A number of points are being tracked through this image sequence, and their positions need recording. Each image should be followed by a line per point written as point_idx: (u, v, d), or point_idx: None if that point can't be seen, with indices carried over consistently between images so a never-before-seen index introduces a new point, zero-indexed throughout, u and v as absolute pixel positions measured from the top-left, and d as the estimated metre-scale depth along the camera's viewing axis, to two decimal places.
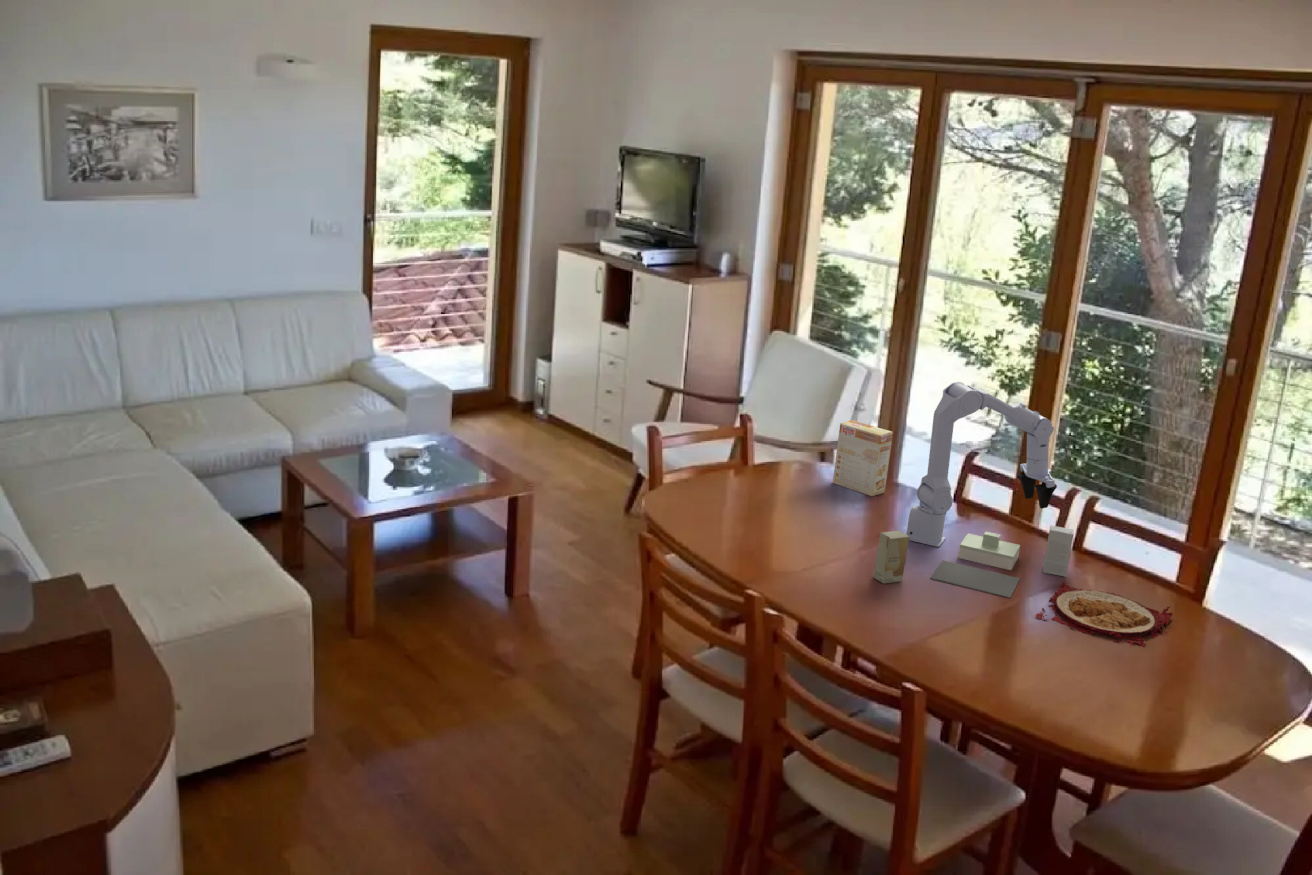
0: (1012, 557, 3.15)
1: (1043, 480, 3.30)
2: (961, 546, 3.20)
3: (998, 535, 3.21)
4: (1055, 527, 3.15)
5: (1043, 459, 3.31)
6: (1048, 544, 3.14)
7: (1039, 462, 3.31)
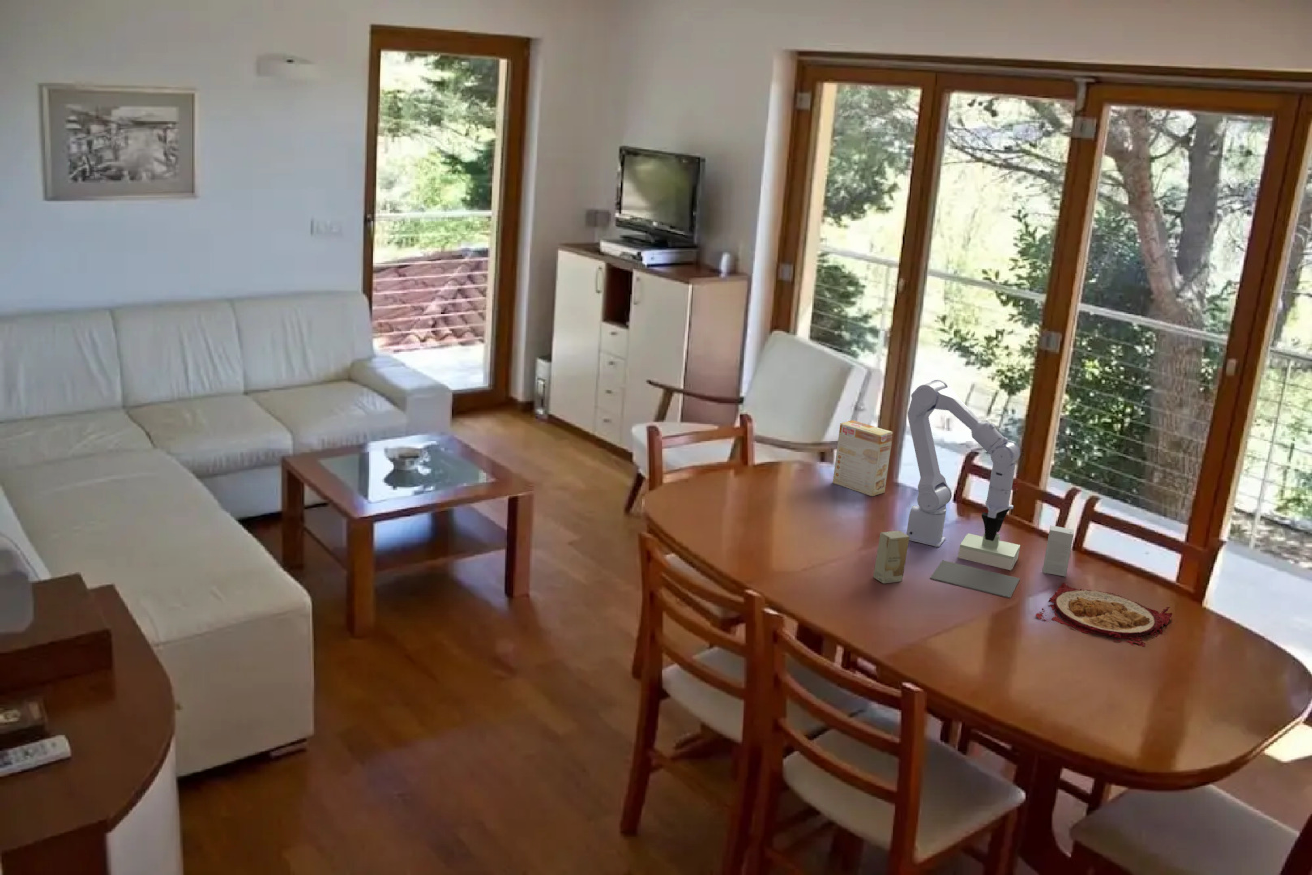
0: (1012, 557, 3.15)
1: (988, 508, 3.14)
2: (961, 546, 3.20)
3: (998, 535, 3.21)
4: (1055, 527, 3.15)
5: (997, 488, 3.15)
6: (1048, 544, 3.14)
7: (994, 491, 3.16)
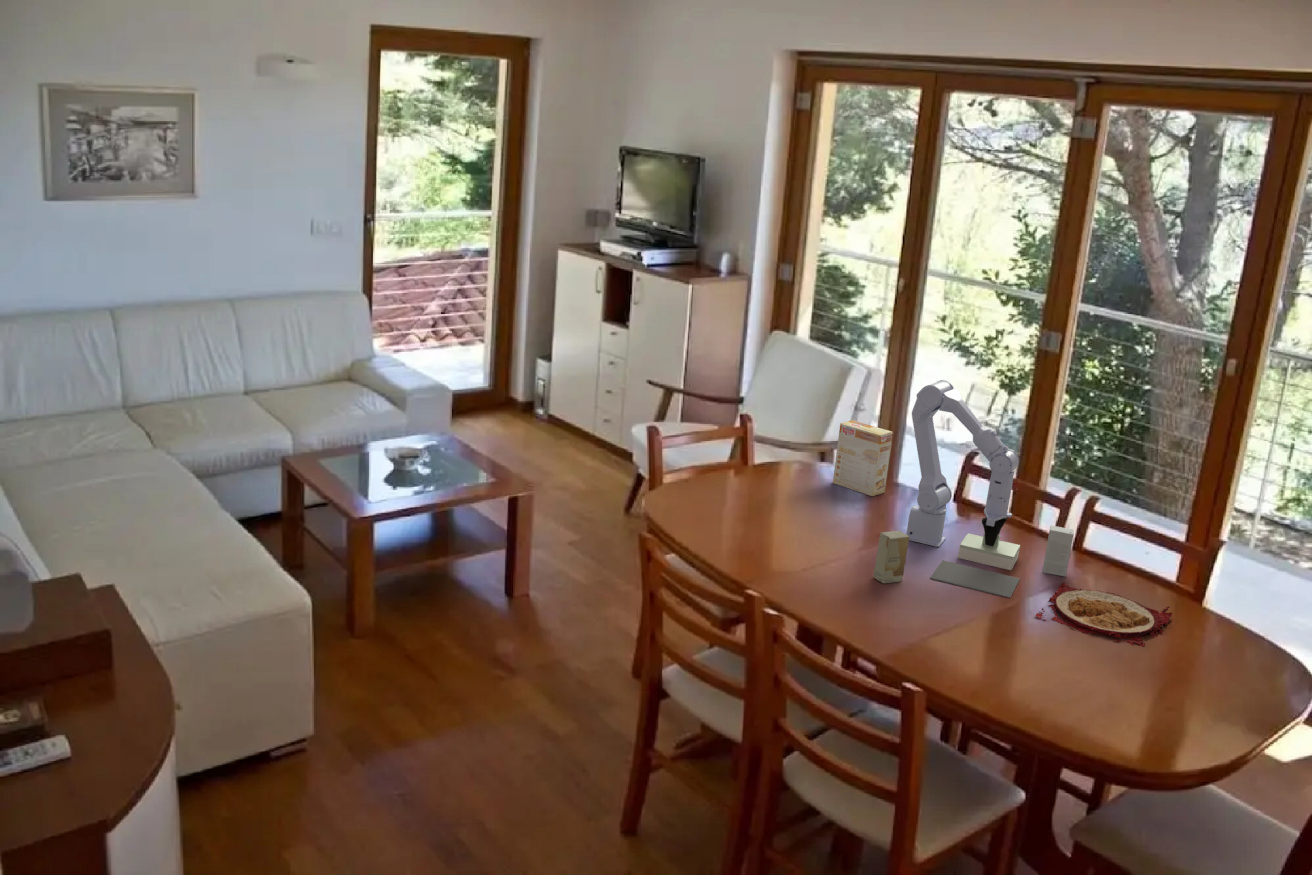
0: (1012, 557, 3.15)
1: (987, 517, 3.15)
2: (961, 546, 3.20)
3: (998, 535, 3.21)
4: (1055, 527, 3.15)
5: (995, 497, 3.16)
6: (1048, 544, 3.14)
7: (993, 499, 3.16)
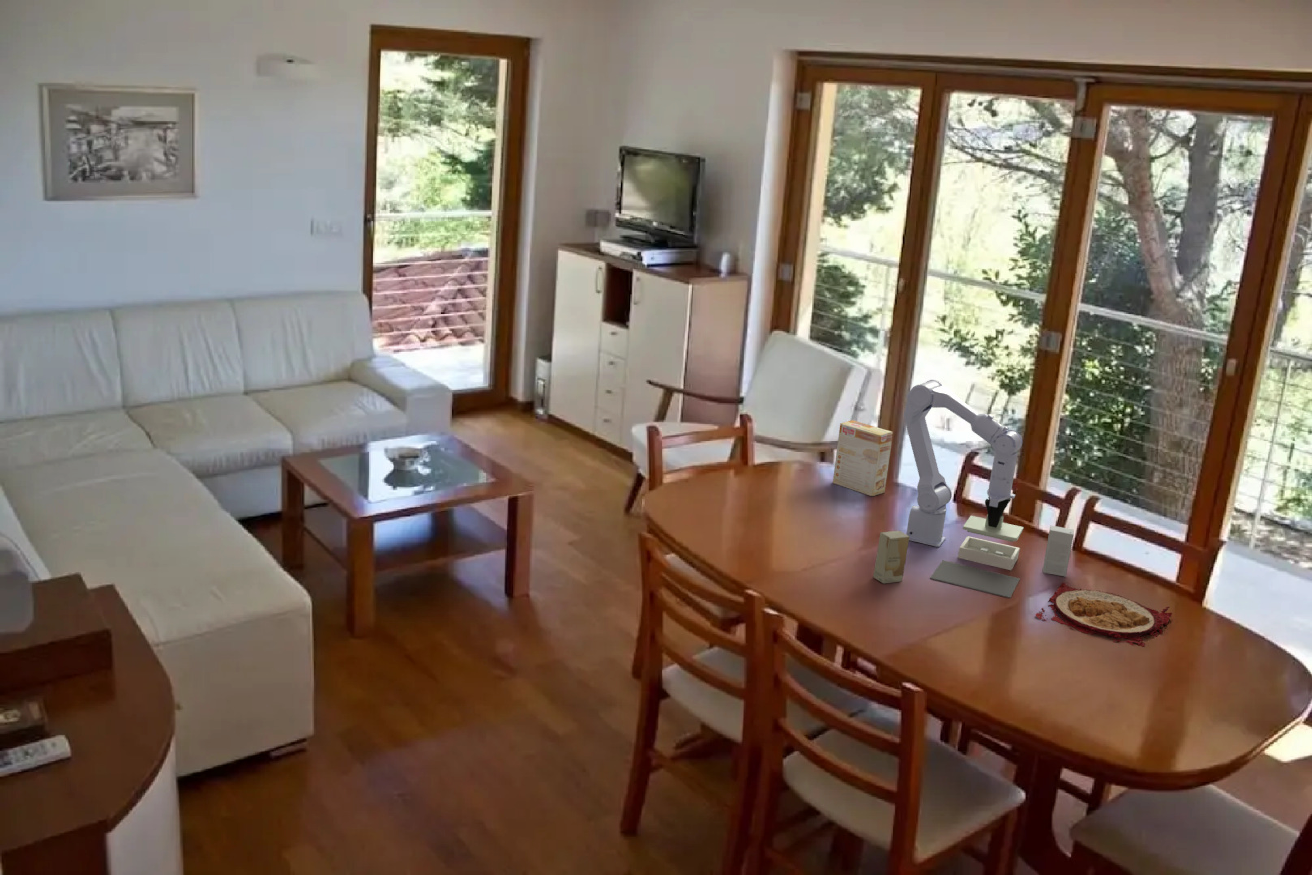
0: (1015, 539, 3.14)
1: (990, 498, 3.14)
2: (964, 528, 3.19)
3: (1001, 517, 3.19)
4: (1055, 527, 3.15)
5: (998, 477, 3.14)
6: (1048, 544, 3.14)
7: (996, 480, 3.15)
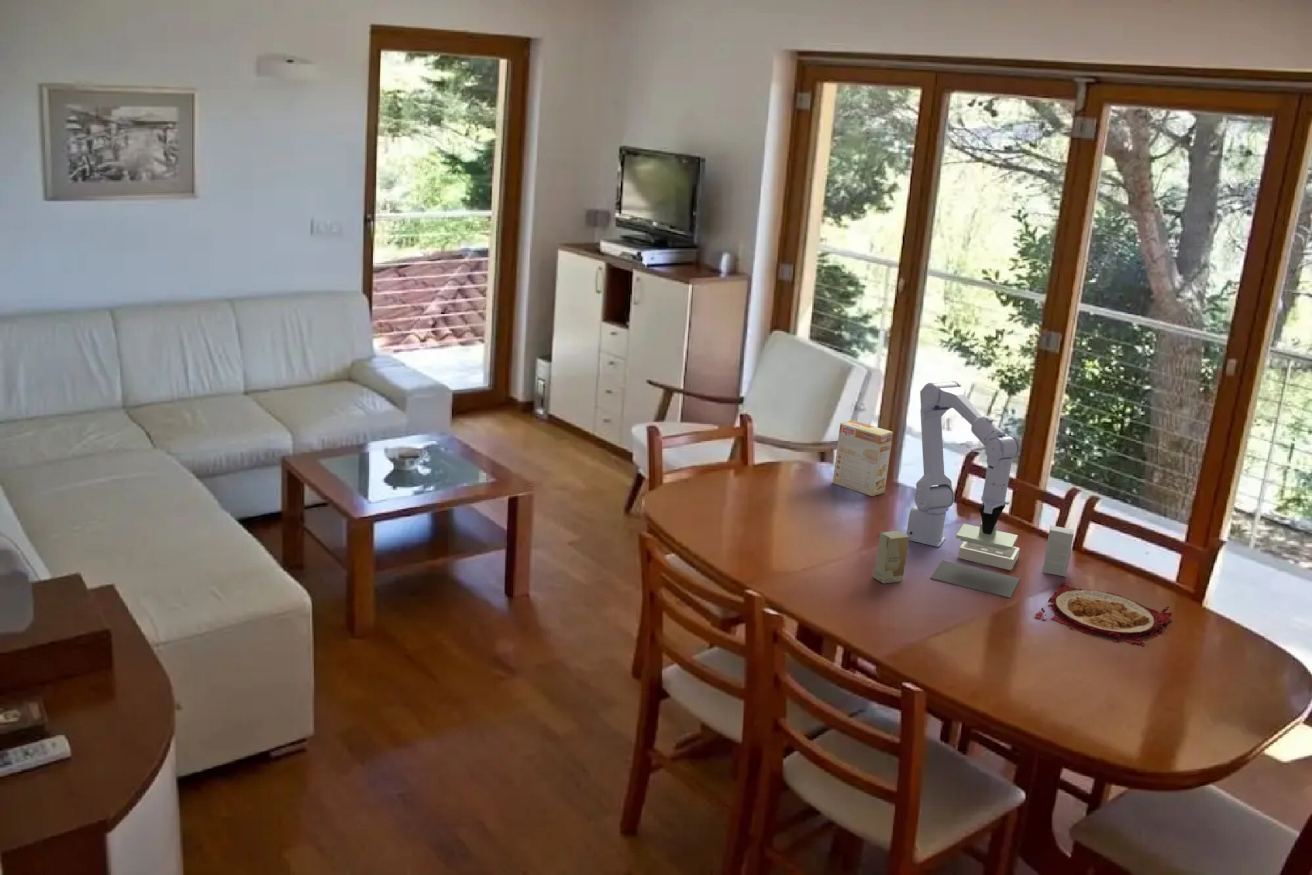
0: (1010, 547, 3.05)
1: (984, 504, 3.05)
2: (957, 536, 3.11)
3: (995, 525, 3.11)
4: (1055, 527, 3.15)
5: (988, 482, 3.07)
6: (1048, 544, 3.14)
7: (990, 485, 3.06)
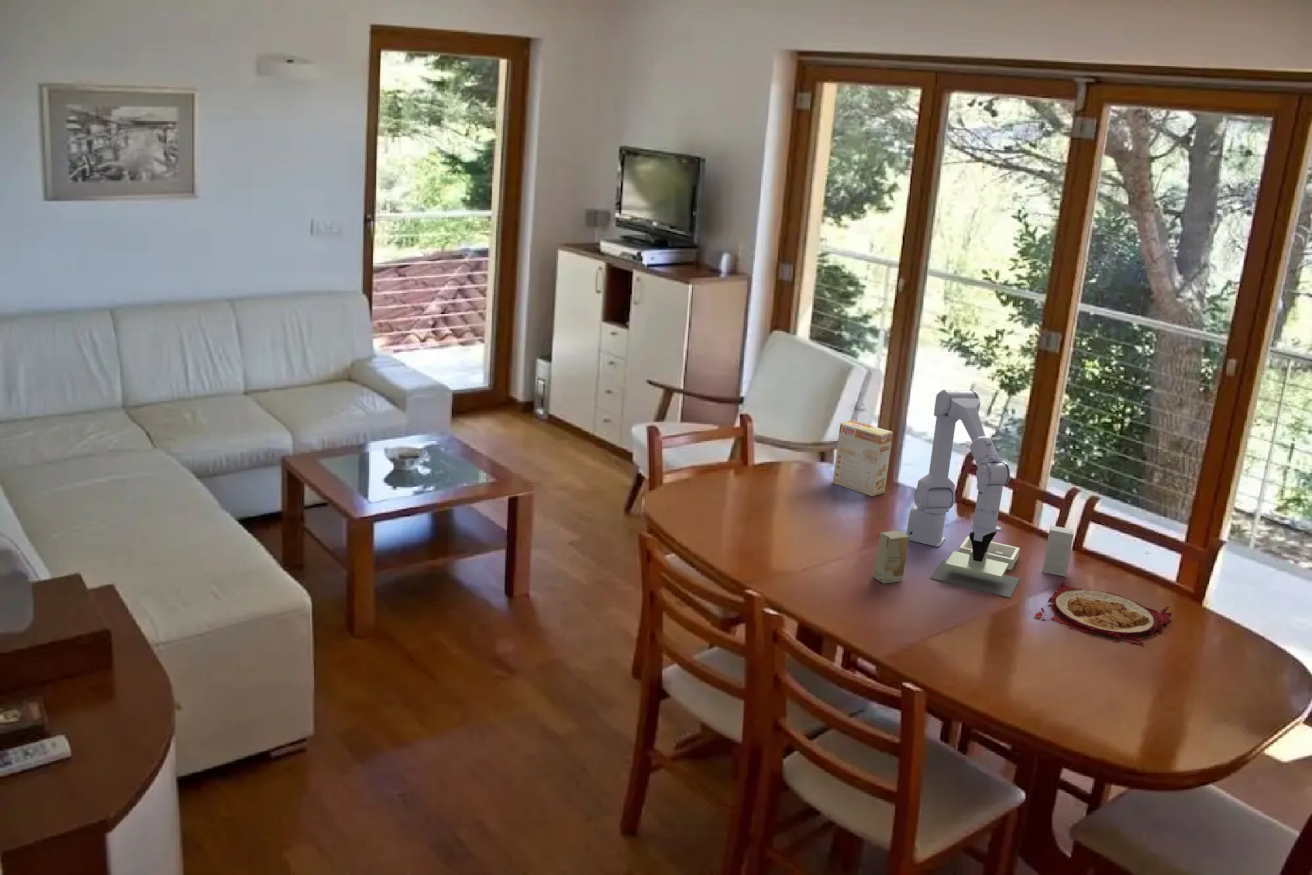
0: (1000, 577, 3.00)
1: (974, 531, 3.00)
2: (946, 565, 3.05)
3: (985, 553, 3.06)
4: (1055, 527, 3.15)
5: (977, 507, 3.02)
6: (1048, 544, 3.14)
7: (981, 512, 3.01)
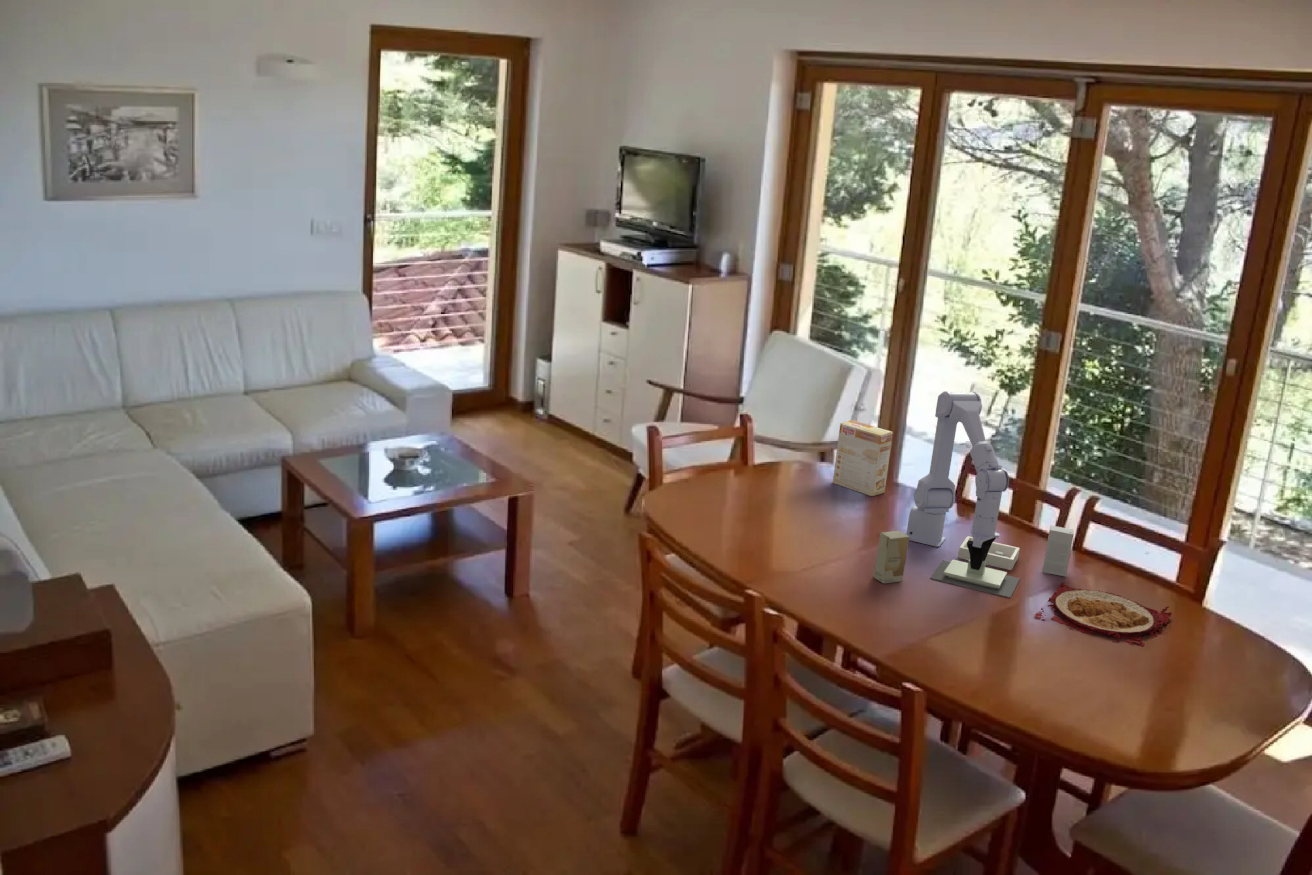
0: (998, 585, 3.01)
1: (973, 537, 3.00)
2: (945, 573, 3.06)
3: (984, 562, 3.07)
4: (1055, 527, 3.15)
5: (976, 514, 3.02)
6: (1048, 544, 3.14)
7: (979, 518, 3.01)
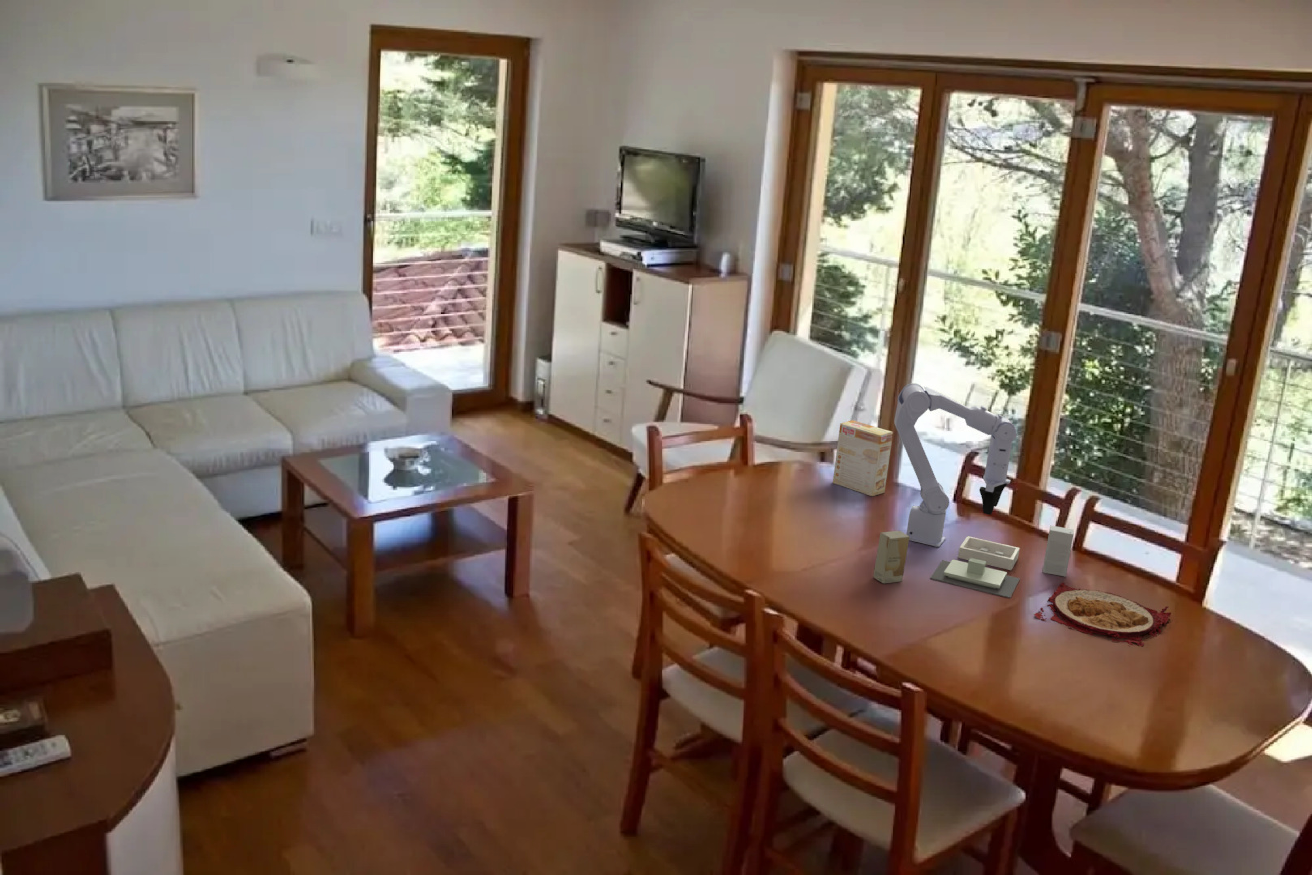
0: (998, 585, 3.01)
1: (986, 483, 3.22)
2: (945, 573, 3.06)
3: (984, 562, 3.07)
4: (1055, 527, 3.15)
5: (1000, 464, 3.22)
6: (1048, 544, 3.14)
7: (992, 465, 3.23)
